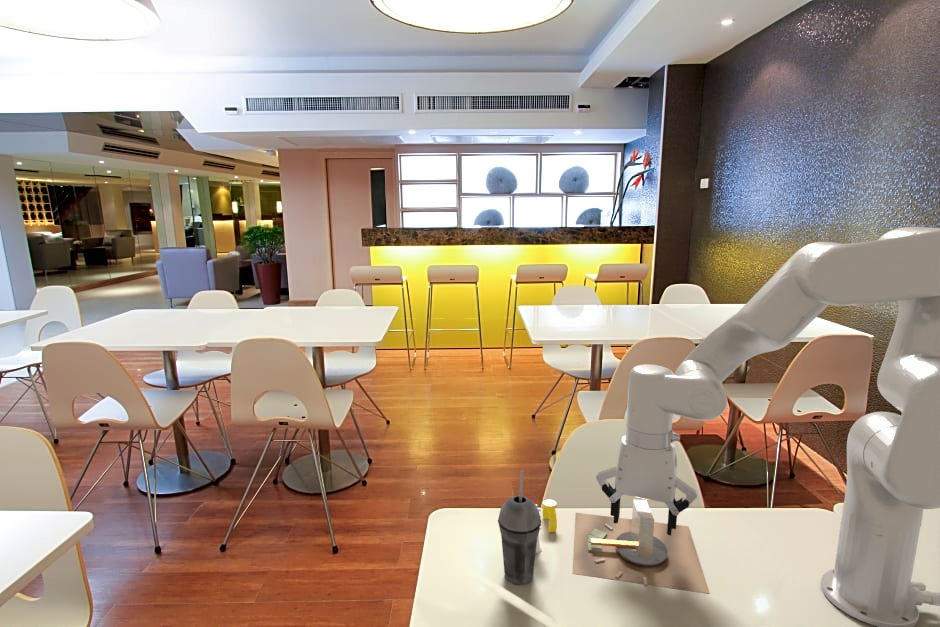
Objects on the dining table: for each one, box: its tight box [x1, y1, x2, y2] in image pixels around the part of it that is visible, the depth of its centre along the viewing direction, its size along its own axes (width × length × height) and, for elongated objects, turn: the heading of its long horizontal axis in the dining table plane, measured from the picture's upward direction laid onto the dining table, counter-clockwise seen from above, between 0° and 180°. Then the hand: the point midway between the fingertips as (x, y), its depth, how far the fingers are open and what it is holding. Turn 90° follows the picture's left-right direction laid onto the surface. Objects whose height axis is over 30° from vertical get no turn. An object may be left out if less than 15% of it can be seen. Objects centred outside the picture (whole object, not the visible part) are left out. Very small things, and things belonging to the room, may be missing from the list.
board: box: [572, 512, 711, 595], centre depth 95 cm, size 22×19×2 cm
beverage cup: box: [497, 470, 542, 586], centre depth 86 cm, size 7×7×20 cm
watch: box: [542, 498, 558, 533], centre depth 102 cm, size 6×3×6 cm, turn 6°
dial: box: [591, 499, 667, 567], centre depth 93 cm, size 14×9×8 cm, turn 83°
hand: (642, 524), depth 93 cm, fingers open, 8 cm apart
